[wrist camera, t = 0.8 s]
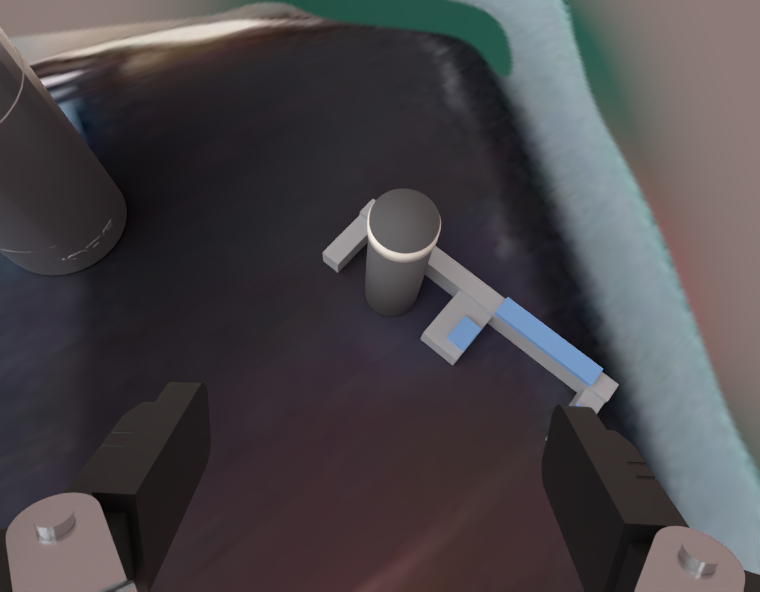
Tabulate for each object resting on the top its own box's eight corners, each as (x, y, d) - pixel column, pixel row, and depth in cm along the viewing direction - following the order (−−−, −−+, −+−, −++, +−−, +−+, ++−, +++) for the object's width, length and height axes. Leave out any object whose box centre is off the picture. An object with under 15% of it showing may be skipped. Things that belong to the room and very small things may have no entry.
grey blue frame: (323, 261, 41) (321, 246, 39) (372, 211, 43) (373, 195, 40) (562, 454, 37) (577, 450, 34) (605, 390, 38) (622, 383, 36)
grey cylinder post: (351, 293, 40) (352, 222, 30) (387, 255, 41) (399, 174, 31) (394, 328, 39) (410, 267, 29) (430, 289, 41) (456, 216, 30)
